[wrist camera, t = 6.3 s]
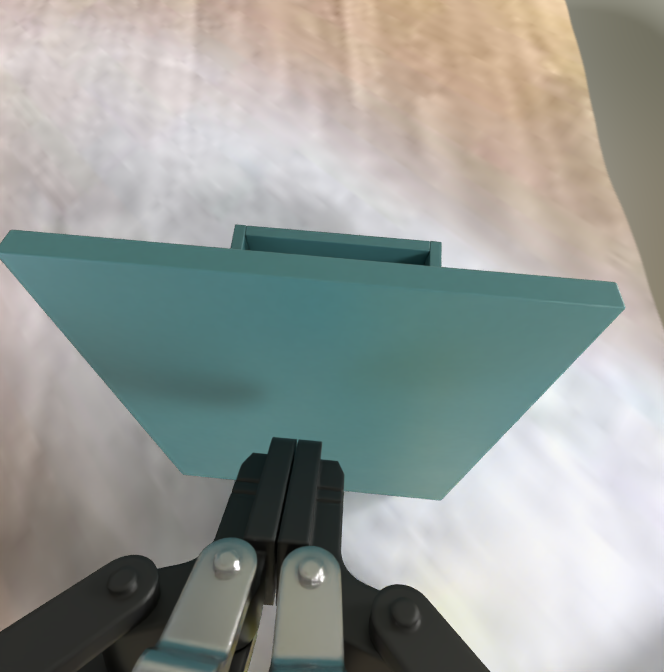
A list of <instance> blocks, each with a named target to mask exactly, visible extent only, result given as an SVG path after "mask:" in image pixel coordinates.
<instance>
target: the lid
mask: <svg viewBox="0 0 664 672" xmlns="http://www.w3.org/2000/svg"><path fill="white" fill-rule="evenodd" d="M0 260H1V261H2V262H3V263H4V264H5V265H6V267H7V268H8V269H9V270H10V271H11V272H12V274H13V275H14V276H15V277H16V278H17V280H18V281H19V282H20V283H21V284H22V285H23V287H24V288H25V289H26V290H27V291H28V293H29V294H30V295H31V296H32V297H33V298H34V300H35V301H36V302H37V303H38V304H39V306H40V307H41V308H42V309H43V310H44V311H45V313H46V314H47V315H48V316H49V317H50V319H51V320H52V321H53V322H54V323H55V324H56V326H57V327H58V328H59V329H60V330H61V331H62V333H63V334H64V335H65V336H66V337H67V339H68V340H69V341H70V342H71V343H72V344H73V346H74V347H75V348H76V349H77V350H78V352H79V353H80V354H81V355H82V356H83V357H84V359H85V360H86V361H87V362H88V363H89V365H90V366H91V367H92V368H93V369H94V370H95V372H96V373H97V374H98V375H99V376H100V378H101V379H102V380H103V381H104V382H105V383H106V385H107V386H108V387H109V388H110V389H111V390H112V392H113V393H114V394H115V395H116V396H117V398H118V399H119V400H120V401H121V402H122V403H123V405H124V406H125V407H126V408H127V409H128V411H129V412H130V413H131V414H132V415H133V416H134V418H135V419H136V420H137V421H138V422H139V424H140V425H141V426H142V427H143V428H144V429H145V431H146V432H147V433H148V434H149V435H150V437H151V438H152V439H153V440H154V441H155V442H156V444H157V445H158V446H159V447H160V448H161V449H162V451H163V452H164V453H165V454H166V455H167V457H168V458H169V459H170V460H171V461H172V462H173V464H174V465H175V466H176V467H177V468H178V470H179V471H180V472H181V473H182V474H183V475H191V476H201V477H211V478H221V479H231V480H236V478H237V475H238V472H239V470H240V467H241V464H242V463H243V462H244V461H245V460H246V459H247V458H248V457H249V456H250V455H251V454H252V453H262V454H268V450H269V447H270V443H271V440H272V438H273V437H280V438H290V439H297V444H298V440H299V439H301V440H311V441H321V442H322V453H321V459H323V460H332V461H338V462H339V464H340V466H341V468H342V470H343V472H344V474H345V475H344V491H351V492H361V493H371V494H381V495H391V496H401V497H411V498H421V499H431V500H442V499H443V498H444V497H445V496H446V495H447V494H448V493H449V492H450V491H451V489H452V488H453V487H454V486H455V485H456V484H457V483H458V482H459V481H460V480H461V479H462V478H463V477H464V476H465V475H466V474H467V473H468V472H469V471H470V470H471V469H472V468H473V467H474V465H475V464H476V463H477V462H478V461H479V460H480V459H481V458H482V457H483V456H484V455H485V454H486V453H487V452H488V451H489V450H490V449H491V448H492V447H493V446H494V445H495V444H496V443H497V442H498V440H499V439H500V438H501V437H502V436H503V435H504V434H505V433H506V432H507V431H508V430H509V429H510V428H511V427H512V426H513V425H514V424H515V423H516V422H517V421H518V420H519V419H520V418H521V417H522V415H523V414H524V413H525V412H526V411H527V410H528V409H529V408H530V407H531V406H532V405H533V404H534V403H535V402H536V401H537V400H538V399H539V398H540V397H541V396H542V395H543V394H544V393H545V392H546V390H547V389H548V388H549V387H550V386H551V385H552V384H553V383H554V382H555V381H556V380H557V379H558V378H559V377H560V376H561V375H562V374H563V373H564V372H565V371H566V370H567V369H568V368H569V367H570V365H571V364H572V363H573V362H574V361H575V360H576V359H577V358H578V357H579V356H580V355H581V354H582V353H583V352H584V351H585V350H586V349H587V348H588V347H589V346H590V345H591V344H592V343H593V342H594V340H595V339H596V338H597V337H598V336H599V335H600V334H601V333H602V332H603V331H604V330H605V329H606V328H607V327H608V326H609V325H610V324H611V323H612V322H613V321H614V320H615V319H616V318H617V317H618V315H619V314H620V313H621V312H622V311H623V310H624V309H625V304H624V302H623V299H622V296H621V294H620V291H619V288H618V286H617V283H615V282H607V281H595V280H584V279H573V278H561V277H550V276H538V275H527V274H515V273H504V272H492V271H481V270H469V269H458V268H446V267H435V266H423V265H412V264H400V263H389V262H377V261H366V260H354V259H343V258H332V257H320V256H309V255H297V254H286V253H274V252H263V251H251V250H240V249H228V248H217V247H205V246H194V245H182V244H171V243H159V242H148V241H136V240H125V239H113V238H102V237H90V236H79V235H68V234H56V233H45V232H33V231H22V230H10V231H9V232H8V234H7V235H6V237H5V238H4V239H3V241H2V242H1V243H0Z"/></svg>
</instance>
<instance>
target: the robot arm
mask: <svg viewBox="0 0 664 672" xmlns="http://www.w3.org/2000/svg"><path fill="white" fill-rule="evenodd" d="M321 453H322V442H321V441H311V440H301V439H299V440H298V444H297V439H290V438H280V437H273V438H272V440H271V443H270V447H269V450H268V454H262V453H252V454H251V455H250V456H249V457H248V458H247V459H246V460H245V461H244V462H243V463H242V464H241V467H240V470H239V472H238V475H237V478H236V481H235V484H234V486H233V489H232V493H231V495H230V498H229V500H228V503H227V506H226V509H225V512H224V514H223V517H222V520H221V523H220V525H219V528H218V531H217V534H216V537H215V539H214V541H213V542H212V543H211V544H209V545H208V546H207V547H206V548H205V549H203V551H202V552H201V553H200V555H199V556H198V557H197V558H195V559H193V560H191V561H189V562H186V563H182V564H178V565H173V566H168V567H163V568H158V569H157V568H156V566H155V564H154V562H153V561H151V560H150V559H149V558H147V557H144V556H141V555H128V556H124V557H120V558H118V559H115V560H113V561H111V562H110V563H108V564H106V565H105V566H103V567H102V568H100V569H99V570H97V571H95V572H94V573H92V574H91V575H89V576H87V577H86V578H84V579H83V580H81V581H80V582H78V583H76V584H75V585H73V586H72V587H70V588H69V589H67V590H65V591H64V592H62V593H61V594H59V595H57V596H56V597H54V598H53V599H51V600H50V601H48V602H46V603H45V604H43V605H42V606H40V607H39V608H37V609H35V610H34V611H32V612H31V613H29V614H27V615H26V616H24V617H23V618H21V619H20V620H18V621H16V622H15V623H13V624H12V625H10V626H9V627H7V628H5V629H4V630H2V631H1V632H0V672H247V671H248V667H249V664H250V660H251V657H252V653H253V649H254V646H255V642H256V638H257V631H258V628H259V624H260V619H261V614H262V609H263V605H272V606H273V603H274V598H275V592H276V606H277V609H276V619H275V629H274V639H273V649H272V658H271V666H270V669H269V672H490V671H489V670H488V668H487V667H486V666H485V665H484V664H483V663H482V662H481V660H480V659H479V658H478V657H477V656H476V655H475V653H474V652H473V651H472V650H471V649H470V648H469V647H468V645H467V644H466V643H465V642H464V641H463V640H462V638H461V637H460V636H459V635H458V634H457V633H456V631H455V630H454V629H453V628H452V627H451V626H450V625H449V623H448V622H447V621H446V620H445V619H444V618H443V616H442V615H441V614H440V613H439V612H438V611H437V610H436V608H435V607H434V606H433V605H432V604H431V603H430V601H429V600H428V599H427V598H426V597H425V596H424V595H423V594H422V593H420V592H419V591H418V590H416V589H414V588H412V587H409V586H406V585H400V584H395V585H390V586H387V587H385V588H383V589H382V590H381V591H379V590H377V589H375V588H373V587H371V586H368V585H366V584H364V583H362V582H360V581H359V580H357V579H356V578H355V577H353V576H352V575H351V574H350V572H349V571H348V570H347V569H346V567H345V565H344V563H343V560H342V556H341V537H342V516H343V496H344V475H345V474H344V472H343V470H342V468H341V466H340V464H339V462H338V461H332V460H323V459H321Z"/></svg>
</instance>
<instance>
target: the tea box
mask: <svg viewBox="0 0 664 672" xmlns="http://www.w3.org/2000/svg"><path fill="white" fill-rule="evenodd" d="M230 249H240V250H251V251H263V252H274V253H286V254H297V255H309V256H320V257H332V258H343V259H354V260H366V261H377V262H389V263H400V264H412V265H423V266H435V267H441V252H442V243H441V242H435V241H420V240H409V239H397V238H385V237H374V236H362V235H350V234H339V233H327V232H315V231H304V230H292V229H280V228H269V227H257V226H246V225H235V228H234V233H233V238H232V243H231V248H230Z"/></svg>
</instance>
